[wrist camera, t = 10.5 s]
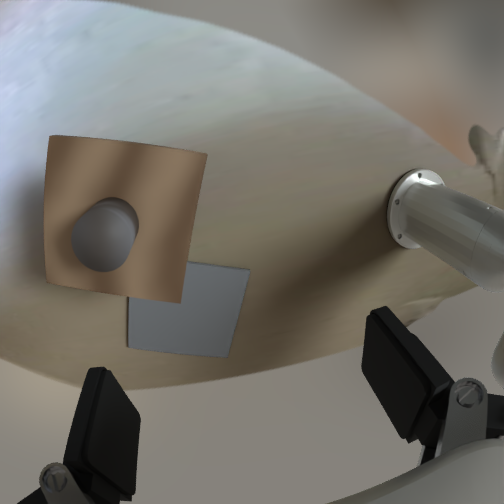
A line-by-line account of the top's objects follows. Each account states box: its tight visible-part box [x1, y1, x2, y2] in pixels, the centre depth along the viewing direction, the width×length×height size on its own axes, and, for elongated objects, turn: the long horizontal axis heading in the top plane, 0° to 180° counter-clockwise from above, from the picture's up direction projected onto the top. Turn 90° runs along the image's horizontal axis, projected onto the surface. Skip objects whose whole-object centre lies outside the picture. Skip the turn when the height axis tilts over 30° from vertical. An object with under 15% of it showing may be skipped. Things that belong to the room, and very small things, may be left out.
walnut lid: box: [44, 135, 207, 304], centre depth 21 cm, size 13×13×5 cm
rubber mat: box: [128, 261, 250, 358], centre depth 39 cm, size 15×15×1 cm
